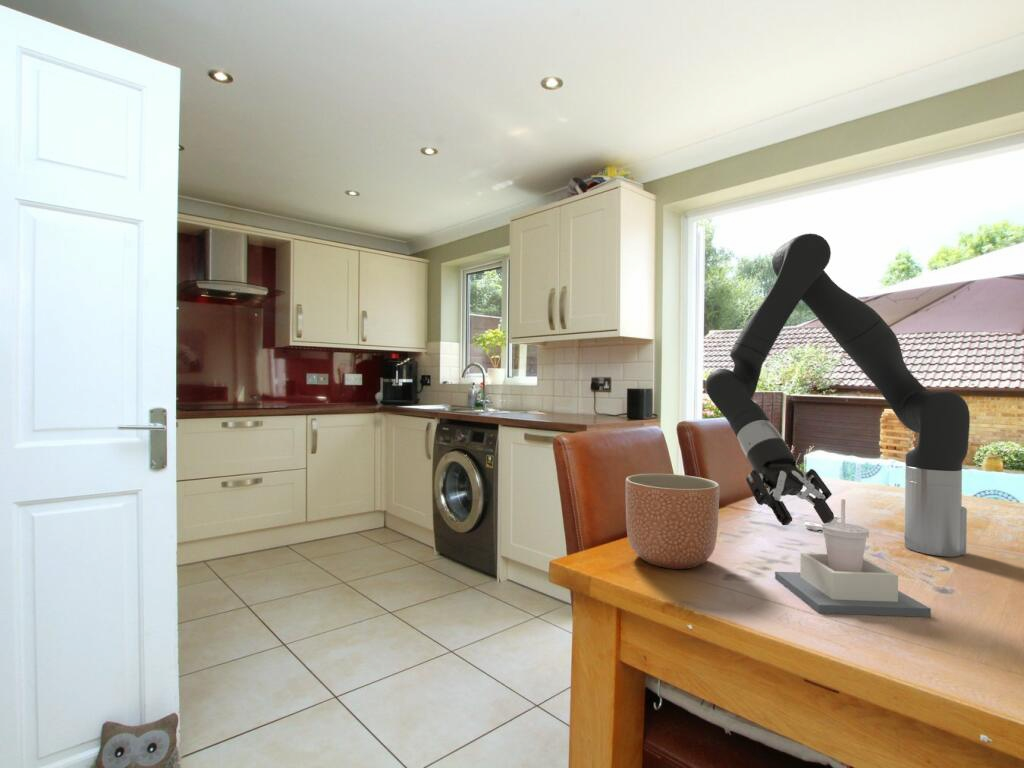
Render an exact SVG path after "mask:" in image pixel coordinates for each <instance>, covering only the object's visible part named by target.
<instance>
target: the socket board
mask: <svg viewBox="0 0 1024 768" xmlns="http://www.w3.org/2000/svg"><path fill="white" fill-rule="evenodd" d="M774 579H775V580H776V581H778V583H780V584H781V585H782V586H784V587H785V588H786V589H788V591H790V592H791V593H793V594H794V595H795V596H796V597H798V598H799V599H800V600H801V601H803V602H804V603H806V605H808V607H810V608H812V609H813V610H814V611H816V613H818V614H839V615H840V614H842V615H843V614H844V615H865V616H866V615H868V616H869V615H870V616H896V617H897V616H898V617H900V616H901V617H902V616H903V617H929V618H931V616H932V615H931V614H932V612H931V611H932V609H931V608H930V607H929V606H927V605H925V604H923V603H922V602H920V601H918V600H916V599H914V598H913V597H910V595H908V594H906V593H904V592H902V591H900V590H899V574H896V573H895V572H893V571H891V570H889V569H887V568H885V567H883V566H881V565H879V564H877V563H875V562H874V561H871V560H869V559H868V558H866V557H863V563H862V570H861V572H841V571H834V570H832V569H831V568H829V565H828V557H827V553H811V552H810V553H808V552H807V553H806V552H804V553H803V552H801V553H800V572H797V571H795V572H794V571H775V573H774Z"/></svg>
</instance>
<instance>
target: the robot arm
mask: <svg viewBox="0 0 1024 768" xmlns="http://www.w3.org/2000/svg"><path fill="white" fill-rule="evenodd" d="M831 253H832V251H831V246H830V244H829V243H828V241H827V240H826V239H825V238H824V237H823V236H821V235H819V234H818V233H817V234H816V233H804V234H801V235H800V234H799V235H798V236H796V237H793V238H792V239H790V240H789V241H787V242H786V243H784V244H782V245H781V246H779V247H778V248H777V249H776V250H775V252H774V253H773V255H772V260H771V266H772V270H773V272H774V274H775V275H776V280H775V281H774V284H773V285H772V287H771V288H770V290H769V292H768V293H767V295H766V296H765V298H764V299H763V301H762V302H761V303H760V305H759V306H758V307H757V308H756V310H755V311H754V312H753V313H752V315H750V317H749V318H748V320H747V321H746V323H745V325H744V326H743V328H742V329H741V332H740V334H739V335H738V336H737V339H736V340H735V343H734V344H733V346H732V348H731V350H730V352H729V353H730V354H729V355H730V358H731V360H732V362H733V369H732V370H730V369H728V368H717V369H715V370H713V371H712V372H710V373H709V374H708V376H707V378H706V381H705V389H706V393H707V396H708V397H709V399H710V400H711V401H712V403H713V404H714V406H715V407H716V408H717V409H718V411H719V412H720V413H721V415H723V416H724V418H725V419H726V420H727V422H728V423H729V425H730V427H731V429H732V431H733V434H734V435H735V437H736V438H737V441H738V443H739V445H740V448H741V450H742V452H743V453H744V456H745V457H746V458H747V460H748V462H749V464H750V466H751V467H752V469H753V470H751V472H750V473H749V474H748V475H747V476H746V478H745V481H746V483H747V484H748V485H747V486H748V487H749V489H750V491H751V493H752V495H753V497H754V499H755V501H756V503H757V504H758V505H759V506H763V505H766V506H767V507H768V508H770V509H771V510H772V512H773V514H774V516H775V518H776V519H777V521H778V522H779V523H780V524H781V525H782V526H788V525H790V523H791V522H792V521H793V517H792V515H791V513H790V512H789V510H788V508H787V506H786V504H785V503H784V501H783V500H781V498H782V497H785V496H796V497H798V498H799V499H800V500H805V501H807V502H808V503H809V504H811V505H812V506H813V509H814V510H815V512H816V513H817V515H818V517H819V518H820V520H821V523H822V522H823V523H830V522H831V521H832V520H833V519H834V515H835V514H834V512H833V511H832V509H831V507H830V506H829V505H828V502H827V500H828V499H829V498H830V497H831V496H832V495H833V493H832V492H831V490H830V489H829V487H828V486H827V485H826V484H825V482H824V481H823V479H822V478H821V477H820V475H819V474H818V472H817V471H816V470H815V469H813V468H810V469H809V470H808V471H805V472H803V471H801V470H800V469H799V468H798V467H797V463H796V457H795V455H794V454H793V452H792V451H791V449H790V448H789V446H788V445H787V443H786V441H785V440H784V438H783V437H782V435H781V434H780V432H779V431H778V429H777V428H776V427H775V426H774V425H773V423H772V422H771V420H770V419H769V417H768V416H767V414H766V413H765V411H764V410H763V408H762V407H761V405H759V404H758V403H757V402H756V401H754V400H753V397H754V395H755V393H756V390H757V387H758V384H759V380H760V376H761V373H762V372H761V371H762V367H763V364H764V362H765V361H766V359H767V358H768V356H769V354H770V353H771V350H772V349H773V346H774V345H775V343H776V341H777V339H778V337H779V335H780V334H781V332H782V331H783V328H784V326H785V325H786V323H787V322H788V320H789V318H790V316H792V315H791V314H792V313H793V312H794V310H795V309H796V307H797V306H798V304H799V302H800V301H802V302H803V303H804V304H805V305H806V306H807V307H808V308H809V309H810V311H811V312H812V313H813V314H814V316H815V317H816V318H817V320H819V322H820V323H821V324H822V325H823V327H824V328H825V329H826V330H827V331H828V332H829V335H831V336H832V337H833V339H834V340H835V341H836V342H837V343H838V345H839V346H840V347H841V348H842V350H844V352H845V353H846V354H847V356H848V357H850V359H851V360H852V361H853V362H854V363H855V364H856V365H857V366H858V367H859V369H860V370H861V371H862V372H863V374H865V376H866V377H867V378H868V379H869V381H871V382H872V383H873V385H875V387H876V388H877V389H878V391H879V392H880V394H881V396H883V398H884V399H885V401H886V402H887V404H888V405H889V407H890V409H892V411H893V413H894V415H896V417H897V418H898V420H899V421H900V422H901V424H902V425H903V426H904V427H905V428H907V429H908V430H910V431H912V432H914V433H916V434H917V433H918V434H919V435H918V442H917V445H916V446H915V448H914V449H912V450H909V451H907V453H906V455H905V473H904V474H905V477H904V478H905V480H904V481H905V483H904V484H905V486H904V487H905V488H904V489H905V492H904V493H905V494H904V496H905V499H904V547H906V548H907V549H909V550H911V551H914V552H917V553H921V554H927V555H931V556H938V557H939V556H940V557H949V558H950V557H952V558H955V557H960V556H967V538H968V537H967V533H968V531H967V529H968V528H967V527H968V526H967V525H968V521H967V520H968V519H967V518H968V516H967V515H968V510H967V507H966V506H965V507H964V506H962V505H963V502H962V499H963V497H962V496H963V493H962V491H963V488H962V487H963V463H964V460H965V459H966V457H967V454H968V449H969V439H970V438H969V437H970V428H971V427H970V424H971V422H970V421H971V418H970V417H971V416H970V410H969V407H968V404H967V401H966V400H965V399H964V398H963V397H962V396H961V395H959V394H958V393H956V392H953V391H947V390H929V389H927V388H926V387H925V386H924V385H922V384H921V382H920V381H919V380H918V379H917V378H916V377H915V376H914V375H913V374H912V373H911V371H910V370H909V368H908V367H907V365H906V362H905V360H904V356H903V353H902V349H901V344H900V342H899V340H898V337H897V335H896V333H895V332H894V330H892V328H891V327H890V325H889V324H888V323H886V321H885V320H884V319H883V318H882V317H881V315H880V314H879V313H878V312H877V311H876V310H875V309H874V308H872V307H871V306H870V305H869V304H867V303H865V302H863V301H862V300H860V299H858V298H857V297H856V296H854V295H852V294H850V293H849V292H847V291H845V290H844V289H842V288H841V287H840V286H839V285H837V284H836V283H835V282H834V281H833V279H831V277H830V276H829V275H828V273H827V272H826V271H825V269H826V268H827V266H828V264H829V262H830V260H831V255H832V254H831ZM767 487H768V488H767ZM803 488H806V489H805V490H804V491H803ZM810 494H811V495H810ZM812 495H813V496H814V497H813V496H812Z"/></svg>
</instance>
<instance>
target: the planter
mask: <svg viewBox="0 0 1024 768" xmlns="http://www.w3.org/2000/svg"><path fill="white" fill-rule="evenodd" d="M719 503H720V484H719V483H718V482H717V481H714V480H712V479H709V478H708V479H707V478H703V477H700V476H694V475H693V476H692V475H685V474H673V473H640V474H639V473H638V474H633V475H629V476H627V477H626V478H625V521H626V522H625V525H626V534H627V535H626V536H627V539H628V543H629V545H630V547H631V549H632V550H633V551H634V553H635V554H636V555H637V556H638V557H639V558H640V559H641V560H643V561H645V562H646V563H648V564H650V565H654V566H656V567H661V568H667V569H674V570H682V569H683V570H686V569H692V568H696V567H698V566H700V565H702V564H703V563H705V562H707V561H708V559H709V558H710V557H711V556H712V555H713V554H714V553H713V552H714V551H715V549H716V548H715V547H716V543H717V537H718V526H719V510H720V509H719V508H720V506H719V505H720V504H719Z"/></svg>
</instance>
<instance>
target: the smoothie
mask: <svg viewBox="0 0 1024 768" xmlns="http://www.w3.org/2000/svg"><path fill="white" fill-rule="evenodd" d="M840 513H841V514H840V518H841V519H840V522H837V523H824V524H822V525H821V526H822V530H821V532H823V533H824V540H825V541H824V542H825V549H826V554H827V557H828V565H829V568H831V569H832V570H834V571H841V572H861V570H862V563H863V557H864V555H865V550H866V549H865V548H866V543H867V539H868V538H869V537H870V535H869V530H868V529H867V528H865V527H863V526H860V525H856V524H852V523H851V524H850V523H846V499H843V498H841V500H840ZM864 558H865V557H864Z"/></svg>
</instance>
